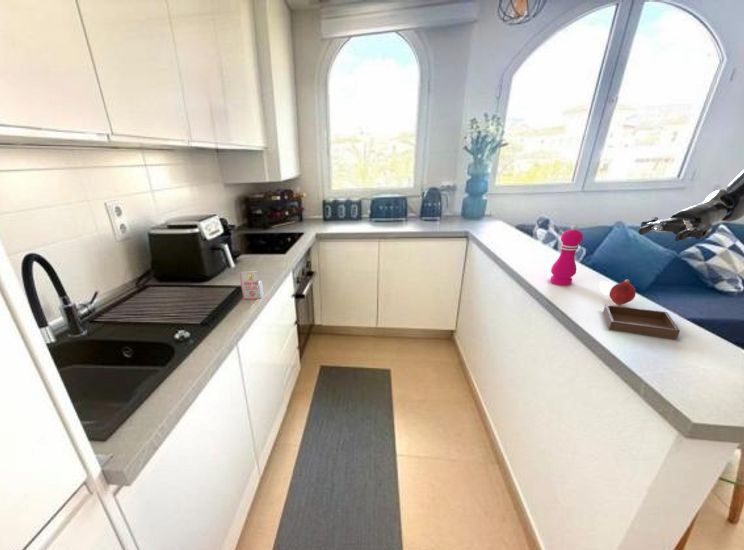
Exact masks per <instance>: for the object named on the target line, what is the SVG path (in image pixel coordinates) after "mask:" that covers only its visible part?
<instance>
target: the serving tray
mask: <svg viewBox="0 0 744 550" xmlns="http://www.w3.org/2000/svg"><path fill="white" fill-rule="evenodd" d="M602 315H603V318H604V320H605V323H606V325H607V328H608V331H615V332H621V333H629V334H634V335H635V334H636V335H640V336H641V335H642V336H649V337H655V338H662V339H669V340H677V338H678V337H679V334H680V332H681V330H680V329H679V327H678V325H677V324H676V323H675V321H674V320H673V318H672V317H671V316H670V314H669V313H668V312H667V311H661V310H653V309H645V308H637V307H627V306H621V305H611V304H605V305H604V308H603V311H602Z"/></svg>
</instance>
